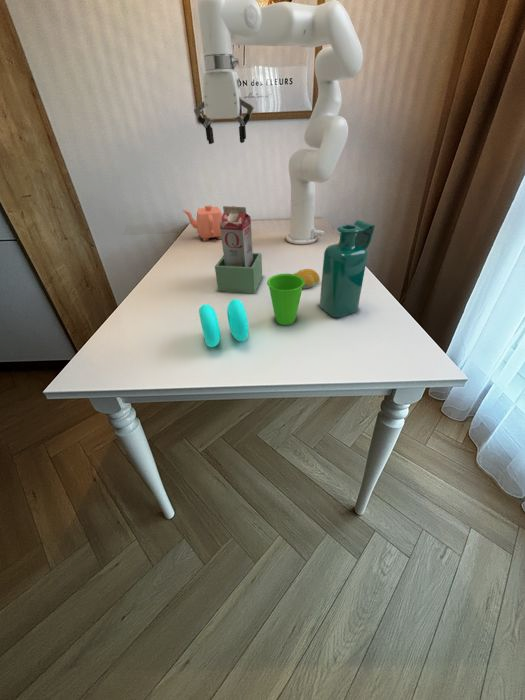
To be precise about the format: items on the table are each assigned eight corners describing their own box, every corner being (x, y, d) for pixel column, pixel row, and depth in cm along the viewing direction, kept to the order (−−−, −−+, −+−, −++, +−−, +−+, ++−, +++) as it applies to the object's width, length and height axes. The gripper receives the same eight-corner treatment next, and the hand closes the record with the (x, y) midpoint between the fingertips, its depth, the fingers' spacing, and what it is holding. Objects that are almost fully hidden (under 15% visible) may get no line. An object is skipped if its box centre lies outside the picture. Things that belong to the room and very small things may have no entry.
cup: (306, 313, 83) (308, 275, 77) (298, 332, 77) (299, 292, 70) (274, 308, 86) (273, 271, 79) (263, 326, 79) (261, 287, 72)
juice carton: (246, 286, 95) (241, 210, 81) (227, 284, 97) (218, 209, 83) (254, 277, 100) (249, 204, 86) (235, 275, 102) (227, 203, 88)
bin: (262, 276, 102) (261, 253, 97) (254, 293, 93) (253, 268, 88) (228, 275, 104) (226, 251, 99) (218, 291, 96) (214, 266, 91)
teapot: (186, 239, 135) (181, 208, 127) (212, 228, 145) (208, 199, 137) (212, 245, 127) (207, 212, 120) (237, 233, 138) (234, 203, 130)
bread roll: (323, 281, 98) (324, 269, 96) (306, 291, 93) (307, 279, 91) (302, 274, 103) (303, 262, 100) (285, 283, 98) (285, 271, 95)
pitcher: (335, 320, 80) (346, 234, 67) (316, 306, 86) (323, 224, 73) (364, 310, 84) (380, 226, 70) (344, 297, 90) (355, 217, 76)
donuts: (251, 348, 72) (248, 311, 66) (208, 356, 70) (201, 319, 64) (241, 325, 80) (237, 290, 74) (202, 332, 78) (196, 297, 72)
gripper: (253, 64, 84) (257, 140, 94) (193, 69, 87) (203, 142, 97) (248, 62, 78) (252, 143, 89) (183, 67, 81) (195, 145, 92)
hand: (226, 142), depth 93 cm, fingers open, 9 cm apart
